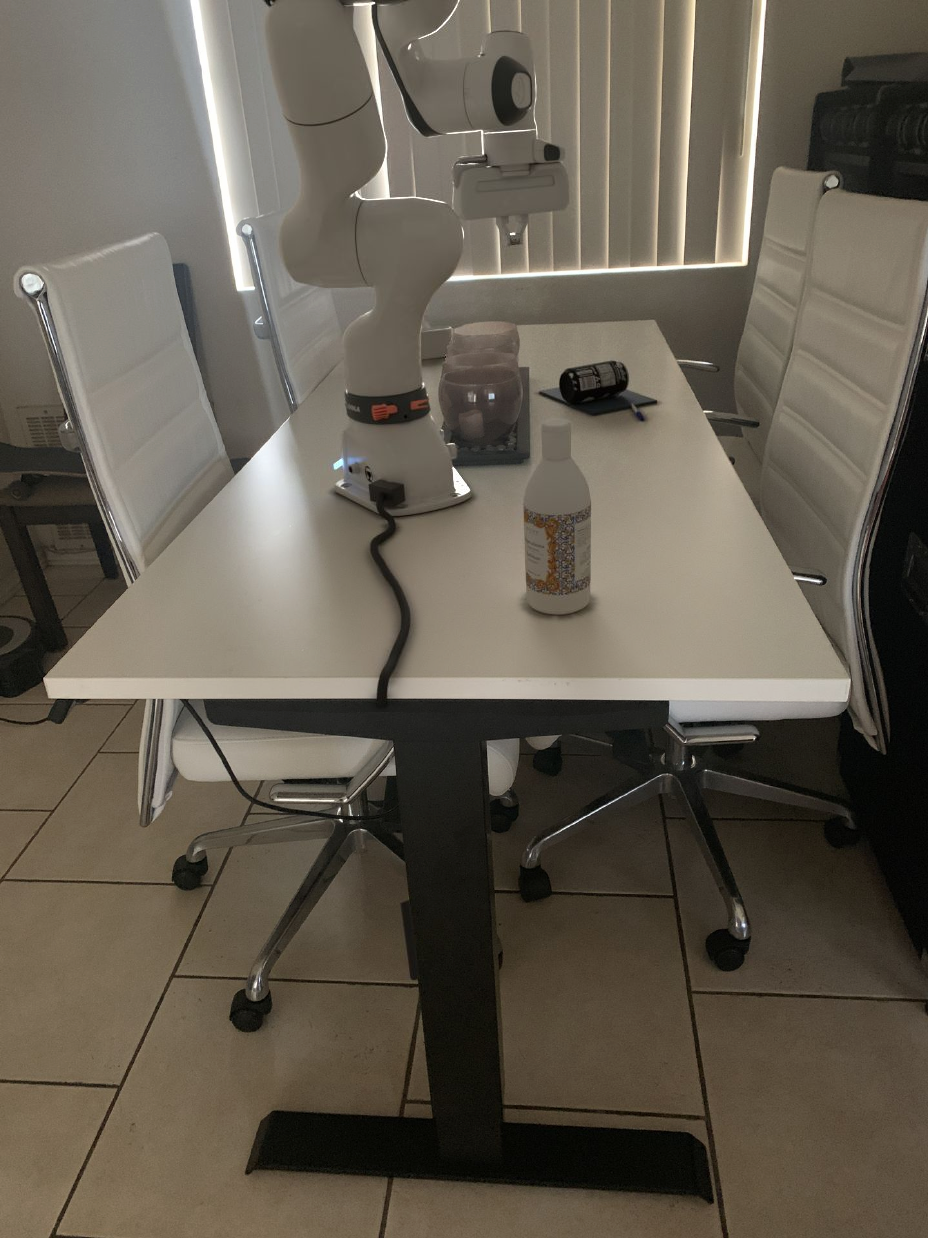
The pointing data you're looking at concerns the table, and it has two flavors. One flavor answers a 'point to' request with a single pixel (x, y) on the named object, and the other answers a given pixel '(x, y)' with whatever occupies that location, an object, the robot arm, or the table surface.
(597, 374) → the beverage can
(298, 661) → the table surface
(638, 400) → the mat
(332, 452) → the table surface
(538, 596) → the bath foam
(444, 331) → the phone holder
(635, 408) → the ballpoint pen
